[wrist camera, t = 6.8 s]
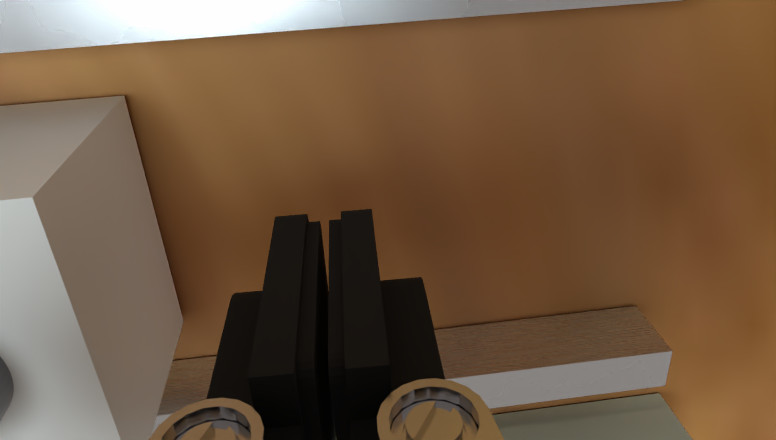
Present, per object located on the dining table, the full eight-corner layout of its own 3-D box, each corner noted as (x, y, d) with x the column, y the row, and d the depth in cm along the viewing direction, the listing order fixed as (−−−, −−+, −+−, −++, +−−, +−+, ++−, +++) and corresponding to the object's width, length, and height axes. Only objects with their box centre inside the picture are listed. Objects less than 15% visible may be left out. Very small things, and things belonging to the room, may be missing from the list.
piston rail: (701, -78, 13) (905, -65, 9) (630, 338, 18) (733, 478, 14) (-323, -10, 11) (-717, 50, 7) (-76, 425, 17) (-211, 614, 12)
